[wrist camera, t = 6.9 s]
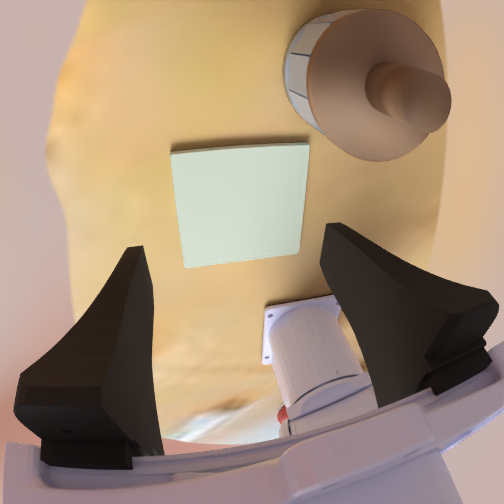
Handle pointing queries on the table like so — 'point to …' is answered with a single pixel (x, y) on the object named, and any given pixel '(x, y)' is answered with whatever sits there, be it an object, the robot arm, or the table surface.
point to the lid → (376, 85)
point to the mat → (240, 201)
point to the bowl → (304, 62)
